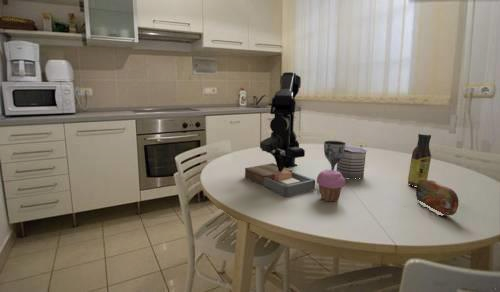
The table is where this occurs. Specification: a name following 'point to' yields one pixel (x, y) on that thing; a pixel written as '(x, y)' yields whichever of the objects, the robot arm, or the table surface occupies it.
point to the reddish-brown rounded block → (437, 197)
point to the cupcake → (330, 184)
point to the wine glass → (334, 151)
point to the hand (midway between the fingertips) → (280, 171)
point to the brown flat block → (262, 172)
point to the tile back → (282, 175)
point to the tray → (293, 189)
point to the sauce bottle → (420, 160)
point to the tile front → (289, 181)
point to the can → (352, 162)
